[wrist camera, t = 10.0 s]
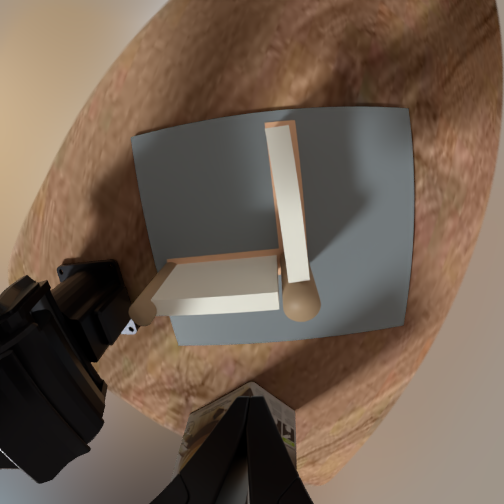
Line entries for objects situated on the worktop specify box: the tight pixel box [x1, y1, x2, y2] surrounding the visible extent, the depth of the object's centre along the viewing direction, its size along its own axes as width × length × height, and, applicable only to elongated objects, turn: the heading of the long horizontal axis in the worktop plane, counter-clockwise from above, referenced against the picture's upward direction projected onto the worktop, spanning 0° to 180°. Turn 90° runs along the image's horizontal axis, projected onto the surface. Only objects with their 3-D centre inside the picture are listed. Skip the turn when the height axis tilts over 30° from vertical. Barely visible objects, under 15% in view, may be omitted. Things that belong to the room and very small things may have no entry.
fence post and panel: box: [129, 252, 321, 326], centre depth 17 cm, size 10×2×6 cm, turn 97°
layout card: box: [131, 107, 414, 345], centre depth 19 cm, size 18×16×1 cm
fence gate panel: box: [265, 125, 310, 283], centre depth 15 cm, size 7×1×5 cm, turn 10°
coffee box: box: [171, 382, 297, 504], centre depth 18 cm, size 9×6×16 cm
